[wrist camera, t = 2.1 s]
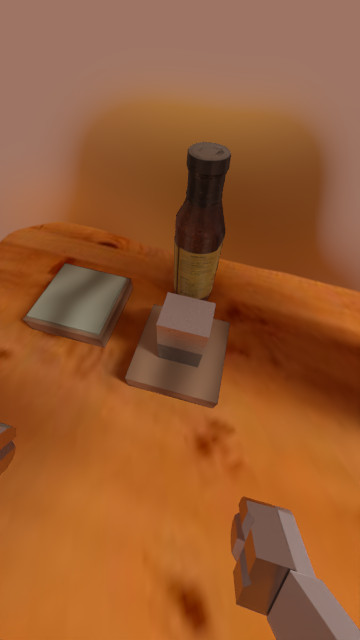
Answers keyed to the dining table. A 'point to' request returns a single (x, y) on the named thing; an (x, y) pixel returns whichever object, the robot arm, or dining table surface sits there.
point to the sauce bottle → (201, 221)
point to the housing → (184, 329)
